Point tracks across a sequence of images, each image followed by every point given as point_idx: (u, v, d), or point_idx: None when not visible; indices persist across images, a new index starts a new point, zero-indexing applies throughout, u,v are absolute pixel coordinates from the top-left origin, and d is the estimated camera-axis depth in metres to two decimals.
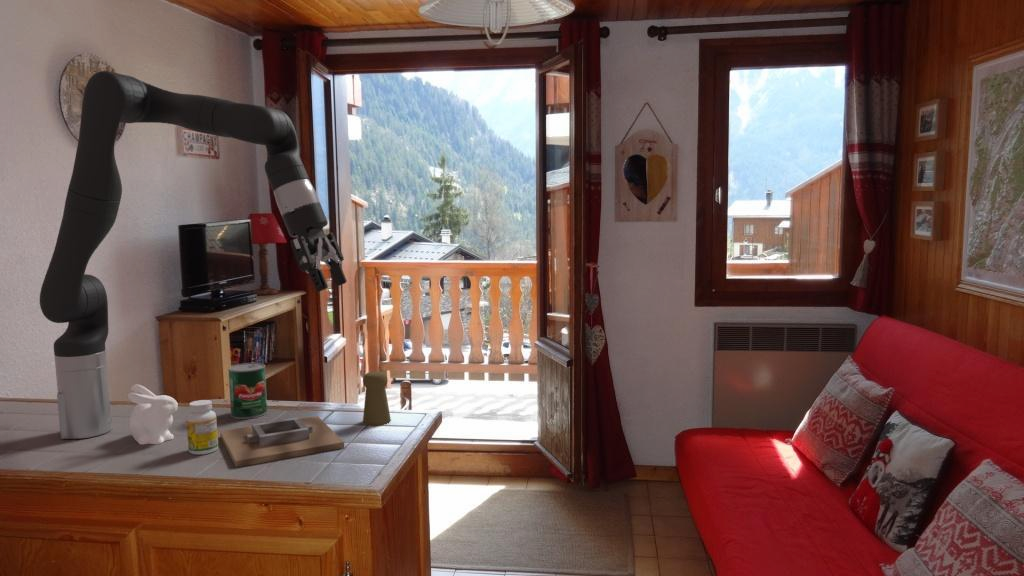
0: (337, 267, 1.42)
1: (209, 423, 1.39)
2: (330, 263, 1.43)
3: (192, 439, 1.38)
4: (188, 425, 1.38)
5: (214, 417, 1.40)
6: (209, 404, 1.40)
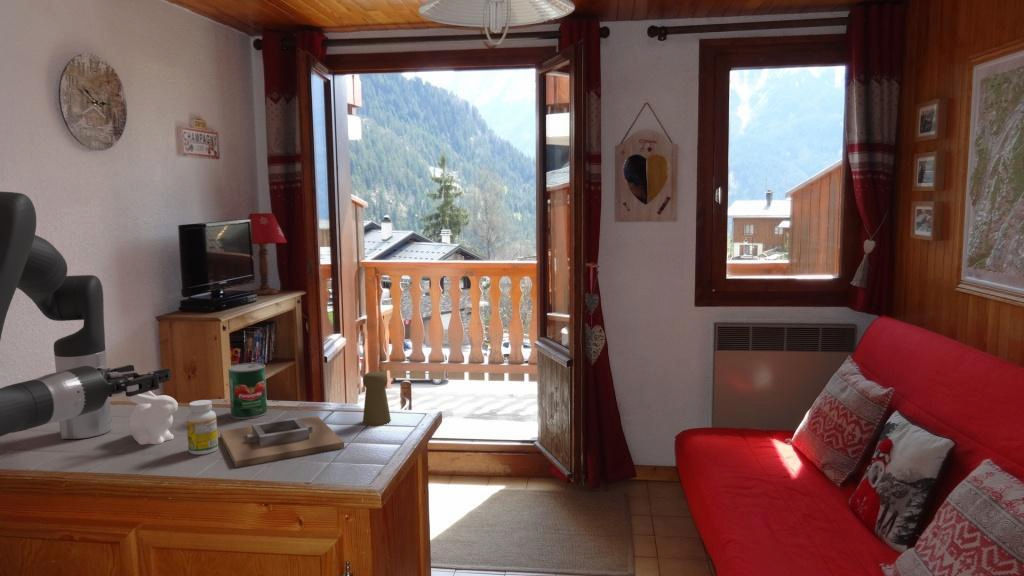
0: None
1: (209, 423, 1.39)
2: None
3: (192, 439, 1.38)
4: (188, 425, 1.38)
5: (214, 417, 1.40)
6: (209, 404, 1.40)
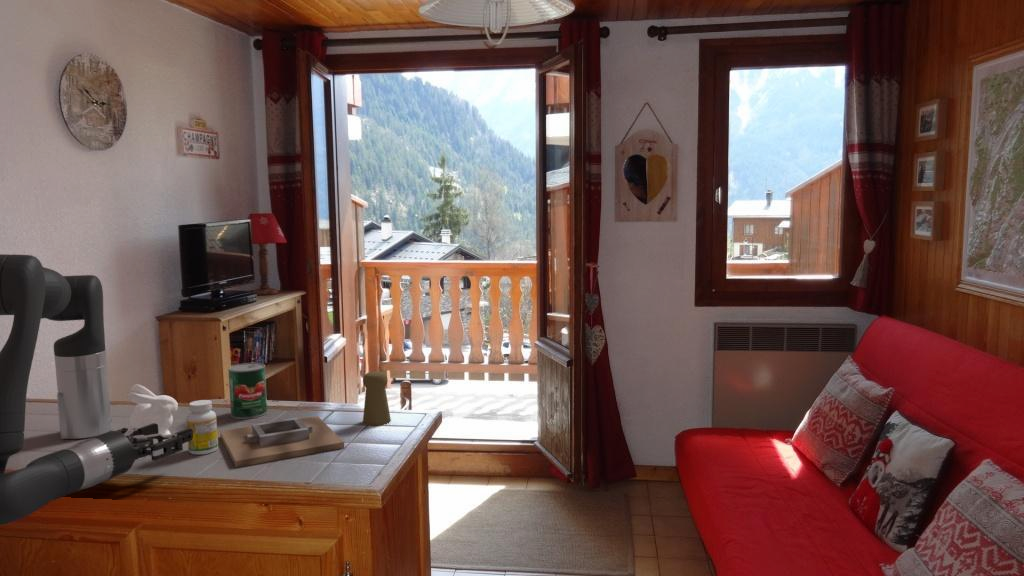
0: None
1: (209, 423, 1.39)
2: None
3: (192, 439, 1.38)
4: (188, 425, 1.38)
5: (214, 417, 1.40)
6: (209, 404, 1.40)
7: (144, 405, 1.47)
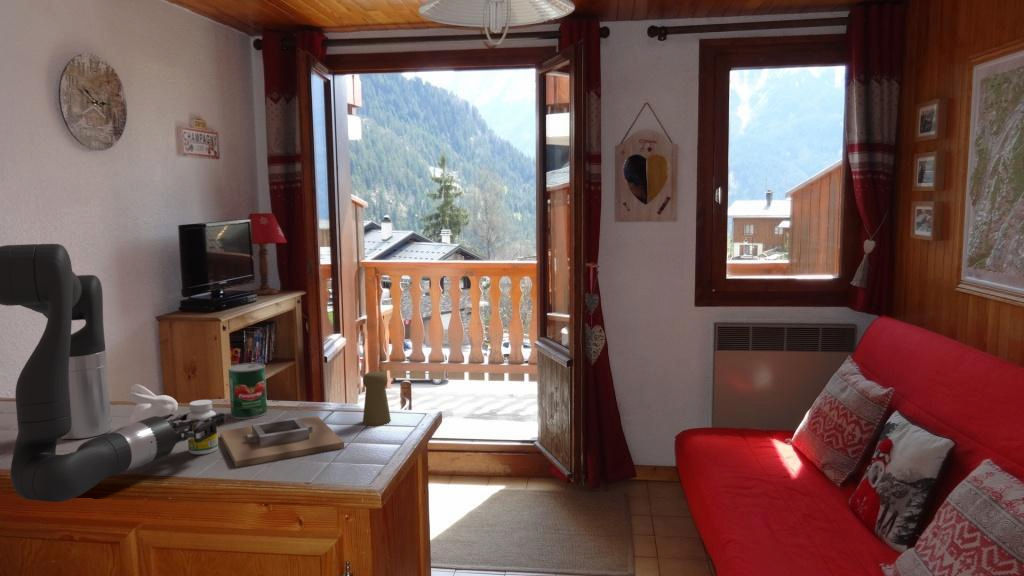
0: None
1: None
2: None
3: None
4: None
5: None
6: (209, 404, 1.40)
7: (144, 405, 1.47)
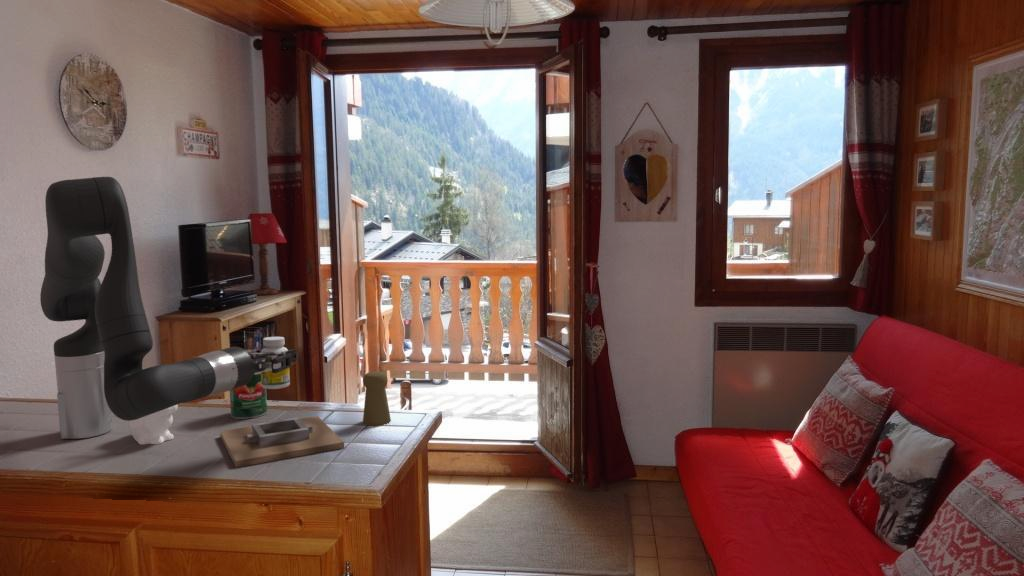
0: None
1: None
2: (279, 356, 1.40)
3: (266, 373, 1.41)
4: None
5: None
6: (282, 340, 1.42)
7: None
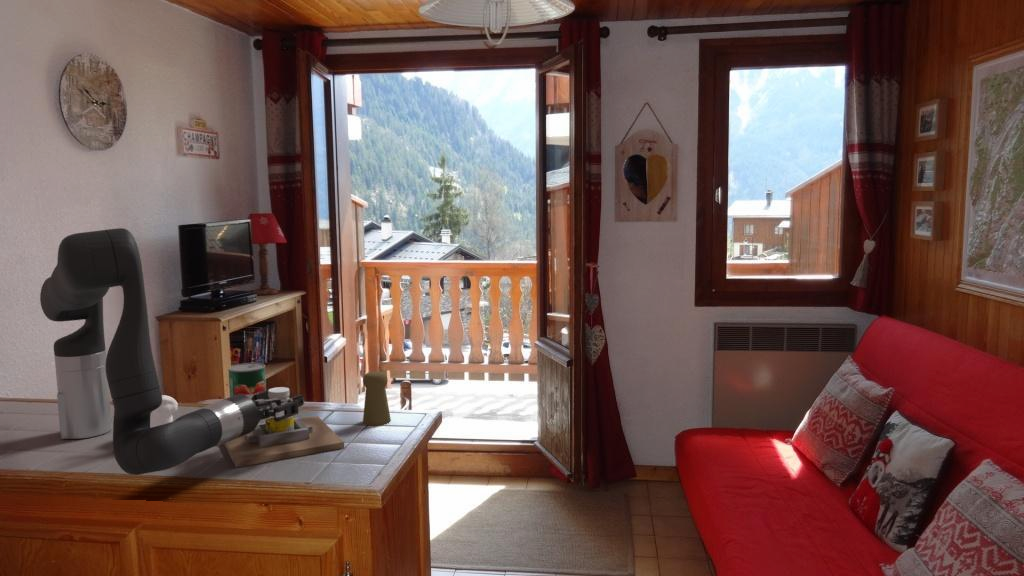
0: None
1: None
2: (286, 403, 1.40)
3: (270, 425, 1.42)
4: None
5: None
6: (287, 391, 1.44)
7: None
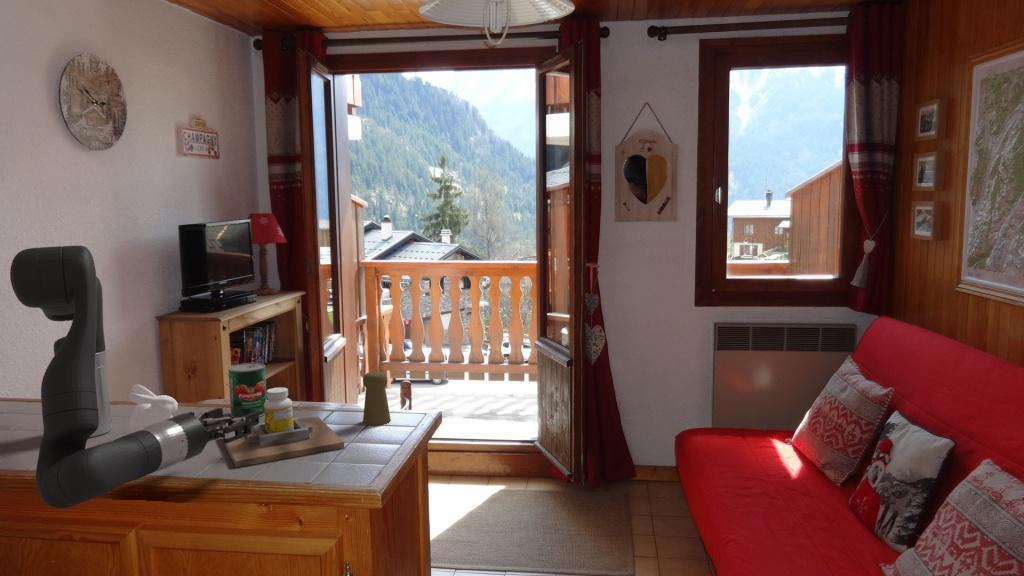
0: None
1: (286, 410, 1.43)
2: None
3: (270, 425, 1.42)
4: (267, 412, 1.42)
5: (291, 404, 1.44)
6: (286, 391, 1.44)
7: (144, 405, 1.47)
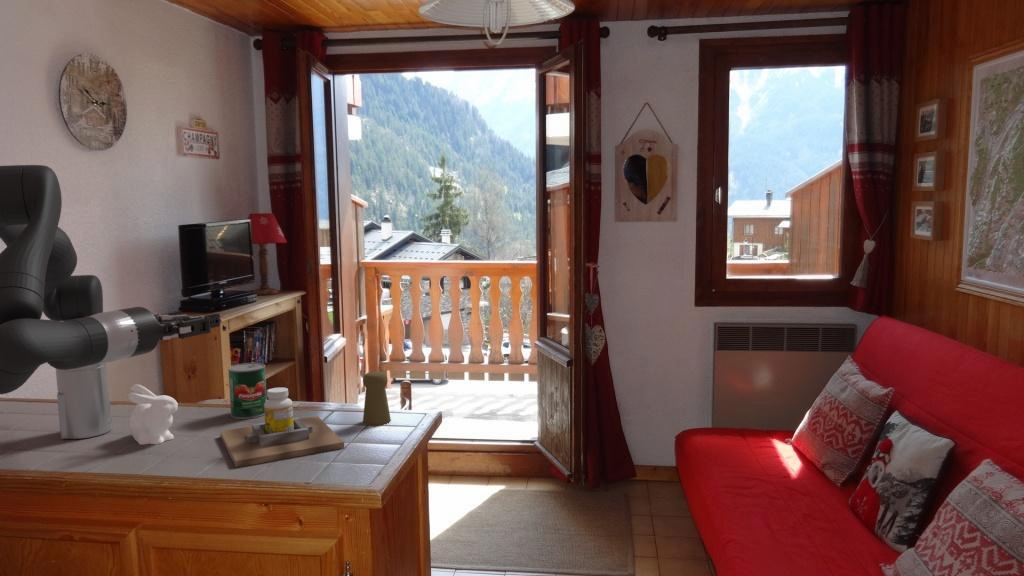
0: None
1: (287, 410, 1.43)
2: None
3: (270, 425, 1.42)
4: (267, 411, 1.42)
5: (291, 404, 1.44)
6: (286, 391, 1.44)
7: (144, 405, 1.47)
